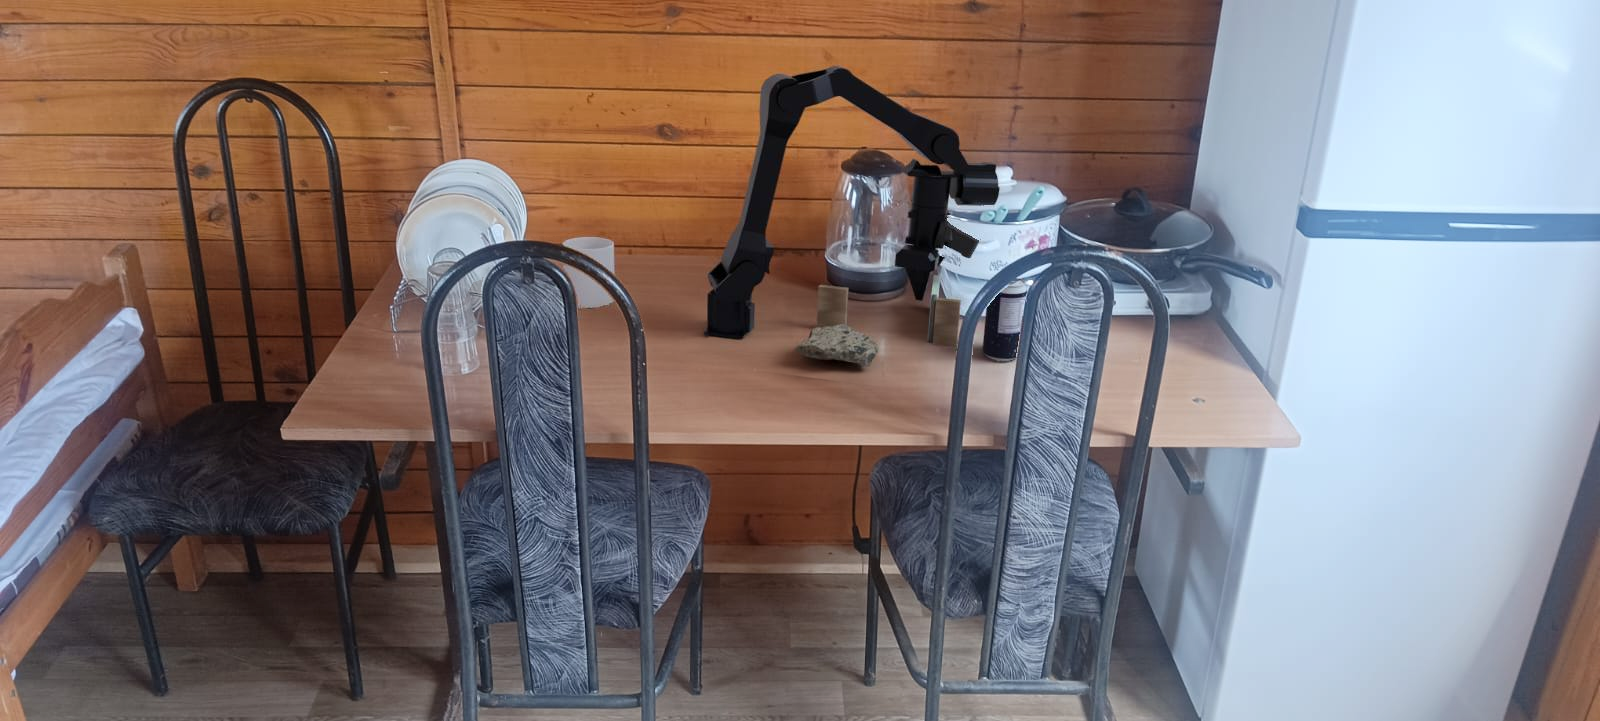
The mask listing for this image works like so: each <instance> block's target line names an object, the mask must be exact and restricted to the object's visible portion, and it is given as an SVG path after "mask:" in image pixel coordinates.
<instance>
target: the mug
mask: <svg viewBox="0 0 1600 721" xmlns="http://www.w3.org/2000/svg"><path fill="white" fill-rule="evenodd" d="M562 245H564V246H567V247H569V248H572V249H574V250H577V251H579V252H581V253H583V254H586V255H588V256H589V257H591V258H593V259H594V260H596V261H597V262H599V263H600V264H602V265H603V266H604V267H606V268H607V269H608V270H609V271H611V272H612V273H613V274H614V275H615V244H614V241H613V240H611V239H608V238H604V237H598V236H597V237H595V236H583V237H573V238H569V239H566V240H564V241H563V242H562ZM562 245H561V246H562ZM562 266H563V267H562V269H563V268H564V269H565V271H566V272H567V273H568V275H569V277H570V278H571V280H572V283H573V285H574V287H575V291H576V294H577V299H578V306H579V309H580V305H581V308H582V307H585V308H588V307H590V308H592V307H600V306H603V305H608V306H610V305H609V303H612V302H613V303H614V301H615V300H614V301H613V300H612V298H611V297H610V296H609V295H608V293H607V292H606V291H605V290H604V289H603V288H602V287H601V286H600V285H598V284H597V283H596V282H595V281H594V280H592V279H591V278H590V277H588V276H587V275H585V274H584V273H582V272H580V271H578V270H576V269H574V268H572V267H570V266H567V265H563V264H562ZM613 303H612V304H613ZM580 310H581V309H580Z"/></svg>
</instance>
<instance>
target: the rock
mask: <svg viewBox="0 0 1600 721" xmlns="http://www.w3.org/2000/svg"><path fill="white" fill-rule="evenodd" d="M878 351H879V346H878V343H877V341H876V340H874V339H873V338H872V337H871V336H870V335H866V334H865V333H863V332H861V331H855V330H854V329H853V328H852V327H850V326H849V325H844V324H840V325H834V326H827V327H823V328H820V327H817V326H816V327H813V328H811V330H810V333H809V336H808V338H806V339H804V340H803V341H802V342H801V343H799V344H798V346H796V348H795V352H796V353H797V354H800V355H801V356H804V357H807V358H811V359H813V360H823V361H832V360H836V361H843V362H847V363H855V364H858V365H861V366H866V367H870V366H872V363H873V360H874V359H875V358H876V354H878Z"/></svg>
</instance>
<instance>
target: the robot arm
mask: <svg viewBox="0 0 1600 721" xmlns="http://www.w3.org/2000/svg"><path fill="white" fill-rule="evenodd" d="M760 88H761V89H760V97H759V98H760V100H759V111H758V112H759V137H758V142H757V146H756V150H755V155H754V158H753V162H752V165H751V166H752V168H751V171H750V174H749V178H748V179H749V180H748V184H747V188H746V192H745V197H744V201H743V206H742V209H741V213H740V218H739V221H738V224H737V226H736V227H735V228H734V230H733V232H732V234H731V235H730V236H729V238H728V240H727V244H726V245H725V248H724V251H723V253H722V255H721V260H720V261H719V262H718V263H717V264H716V265H715V266H714V267H713V268H712V269H711V270H709V272H708V273H707V278H708V282H709V284H710V286H711V287H712V290H711V289H710V291H709V292H708V293H707V305H706V306H707V307H706V308H707V312H706V314H707V315H706V316H707V318H706V319H707V320H706V321H707V322H706V327H705V329H704V330H703V335H706V336H716V337H723V338H731V339H738V340H741V339H744V338H745V337H746V336H747V335H748V334H750V332H752V330H753V329H754V328H755V306H756V305H755V302H752V298H753V297H752V296H753V295H752V294H753V291H754V289H755V287H757V286H759V285H760V284H761V283H762V282H763V280H764V277H765V275H766V274H767V275H769V274H770V273H771V272H770V263H771V260H772V258H773V256H774V253H775V247H774V246H773V244H772V243H771V242H770V241H769V240H768V238H767V231H766V230H767V228H768V224H769V219H770V214H771V211H772V206H773V203H774V198H775V194H776V191H777V186H778V181H779V178H780V173H781V169H782V165H783V161H784V157H785V154H786V150H787V146H788V142H789V140H790V138H791V137H792V135H793V133H794V131H795V130H796V128H797V127H798V125H799V123H800V120H801V118H802V116H803V114H804V111H805V109H806V108H809V107H812V106H817V105H819V104H822V103H824V102H826V101H828V100H831V99H834V98H837V97H840V98H842V99H844V100H846V101H847V102H848V103H850V104H851V105H853V106H855V107H856V108H858V109H859V110H861V111H862V112H864V113H866V114H867V115H869V116H871V117H873V119H875V120H877V121H879V122H880V123H882V124H884V125H885V126H886V127H888V128H889V129H892V130H893V131H894V132H895V133H896V134H897V135H898V136H899V137H900V138H901V139H902V140H903V141H904V142H905V143H906V144H907V145H908V146H909V147H910V148H911V149H912V150H914V151H915V152H916V153H917V154H918V155H920V156H921V157H922V158H924V159H926V160H928V161H930V162H931V163H933V164H921V163H920V162H919V160H917V159H915V158H912V159H911V161H910V162H909V163H908V164H906V165H905V166H904V167H902V168H901V169H900V170H901V172H902V173H903V175H906V176H908V177H909V178H911V177H913V184H912V196H911V204H910V205H911V206H910V209H909V210H908V211H907V212H908V213H907V219H909V223H908V225H909V226H908V233H907V235H906V236H905V241H904V242H905V245H904V246H903V247H901V248H900V249H899V250H898V251H897V252H896V253H895V260H894V266H895V267H896V268H903V269H905V272H906V274H907V276H908V280H909V282H910V286H911V289H912V292H913V295H914V298H915V300H916V301H919V302H921V301H922V302H923V300H924V298H925V295H926V293H927V288H928V286H929V284H930V280H931V277H932V274H933V272H935V271H936V270H937V268H939V266H941V264H942V263H943V261H944V260H945V259H946V256H945V257H942V256H943V255H942V256H940V255H941V254H939V253H940V250H942V249H944V247H945V246H947V247H949V248H950V249H951V250H953V251H954V252H957V253H959V254H960V255H961V256H962V257H963V258H966V259H971V258H972V256H973V255H972V254H974V253H973V252H976V249H977V247H978V246H979V243H980V241H979V240H977V239H975V238H973V237H972V236H970V235H968V234H966V233H964V232H962V231H961V230H959V229H957V228H956V227H954V226H953V225H951V224H950V223H949V222H948V221H947V218H948V217H947V215H950V214H951V212H950V209H948V208H949V202H950V201H949V199H950V198H951V199H953V200H954V202H955V204H956V205H957V206H971V207H972V206H976V207H977V206H979V207H981V206H982V205H983V206H982V207H985V206H984V205H993V206H995V204H997V201H998V199H999V194H1000V186H999V178H998V177H999V176H998V174H997V172H996V171H997V164H995V163H994V162H990V161H989V162H988V161H983V162H967V160H966V158H965V157H964V155H963V154H962V152H961V149H960V144H961V143H960V136H959V134H958V133H957V132H956V131H955V130H954V129H952V128H951V127H948V126H946V125H944V124H942V123H940V122H937V121H935V120H932V119H930V118H927V117H925V116H922V115H920V114H917V113H915V112H912V111H910V110H909V109H907V108H906V107H904V106H902V105H901V104H900V103H897V102H896V101H895V100H893V99H891V98H890V97H888V96H887V95H885V94H883V93H882V92H880V91H878V90H877V89H875V88H874V87H873V86H871V85H869V84H868V83H866V82H865V81H863V80H862V79H860V78H859V77H857V76H856V75H854V74H853V73H852V72H851V71H850V70H849V69H848V68H845V67H842V66H839V65H832V66H829V67H827V68H823V69H820V70H814V71H809V72H802V73H798V74H795V75H791V76H790V75H788V74H785V73H776V74H775V73H774V74H773V75H771V76H769V77H767V78H766V79H764V82H763V83H762V85H761V87H760ZM939 165H940V166H941V165H944V166H945V167H948V168H949V169H951V170H941V168H940V166H939ZM951 215H952V214H951ZM944 245H945V246H944ZM939 249H940V250H939Z"/></svg>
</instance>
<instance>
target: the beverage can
mask: <svg viewBox="0 0 1600 721" xmlns="http://www.w3.org/2000/svg"><path fill="white" fill-rule="evenodd" d="M1020 279H1021V280H1019V281H1017V282H1016V283H1014V284H1012V285H1010V286H1008V287H1007V288H1005V289H1004V290H1003V291H1001V292H1000V293H999V294H998V295H997V296H996V297H995V299H994V300H993V301H992V302H991V303H990V305H989V306H988V307H987V306H986V307H987V308H986V309H985V319H984V329H983V340H982V349H981V350H982V353H983V354H984V355H985V356H986V357H987V358H988V357H989V358H988V359H990V358H991V359H990V360H992V359H994V360H993V361H995V360H999V361H998V362H1000V361H1007V362H1011V361H1010V360H1012V361H1014V360H1016V359H1017V358H1016V353H1017V347H1018V341H1019V334H1020V328H1021V320H1022V312H1023V305H1024V301H1025V297H1026V294H1027V295H1028V289H1027V287H1026V281H1025V280H1024V279H1022V278H1020ZM1015 358H1016V359H1015ZM1013 359H1014V360H1013Z"/></svg>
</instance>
